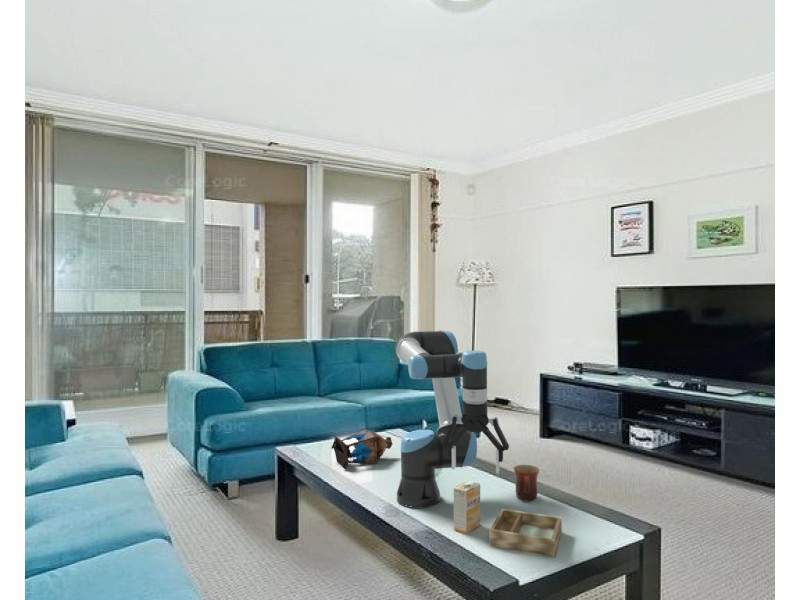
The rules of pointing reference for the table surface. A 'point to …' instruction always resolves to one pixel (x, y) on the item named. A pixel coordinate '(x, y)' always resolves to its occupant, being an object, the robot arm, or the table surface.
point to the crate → (526, 532)
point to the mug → (526, 482)
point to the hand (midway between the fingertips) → (475, 470)
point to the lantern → (361, 448)
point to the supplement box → (466, 506)
